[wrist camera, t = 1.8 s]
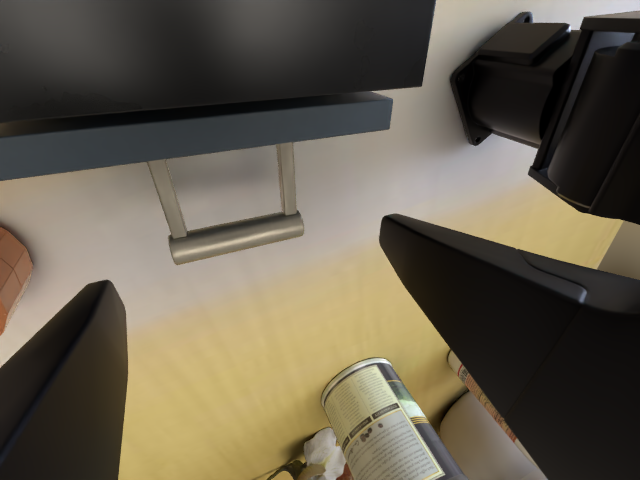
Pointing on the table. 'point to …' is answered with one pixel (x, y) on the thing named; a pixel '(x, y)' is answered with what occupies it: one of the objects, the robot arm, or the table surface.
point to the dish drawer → (194, 153)
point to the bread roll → (345, 474)
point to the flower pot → (12, 275)
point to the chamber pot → (483, 444)
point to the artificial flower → (318, 459)
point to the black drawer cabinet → (201, 52)
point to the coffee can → (384, 427)
